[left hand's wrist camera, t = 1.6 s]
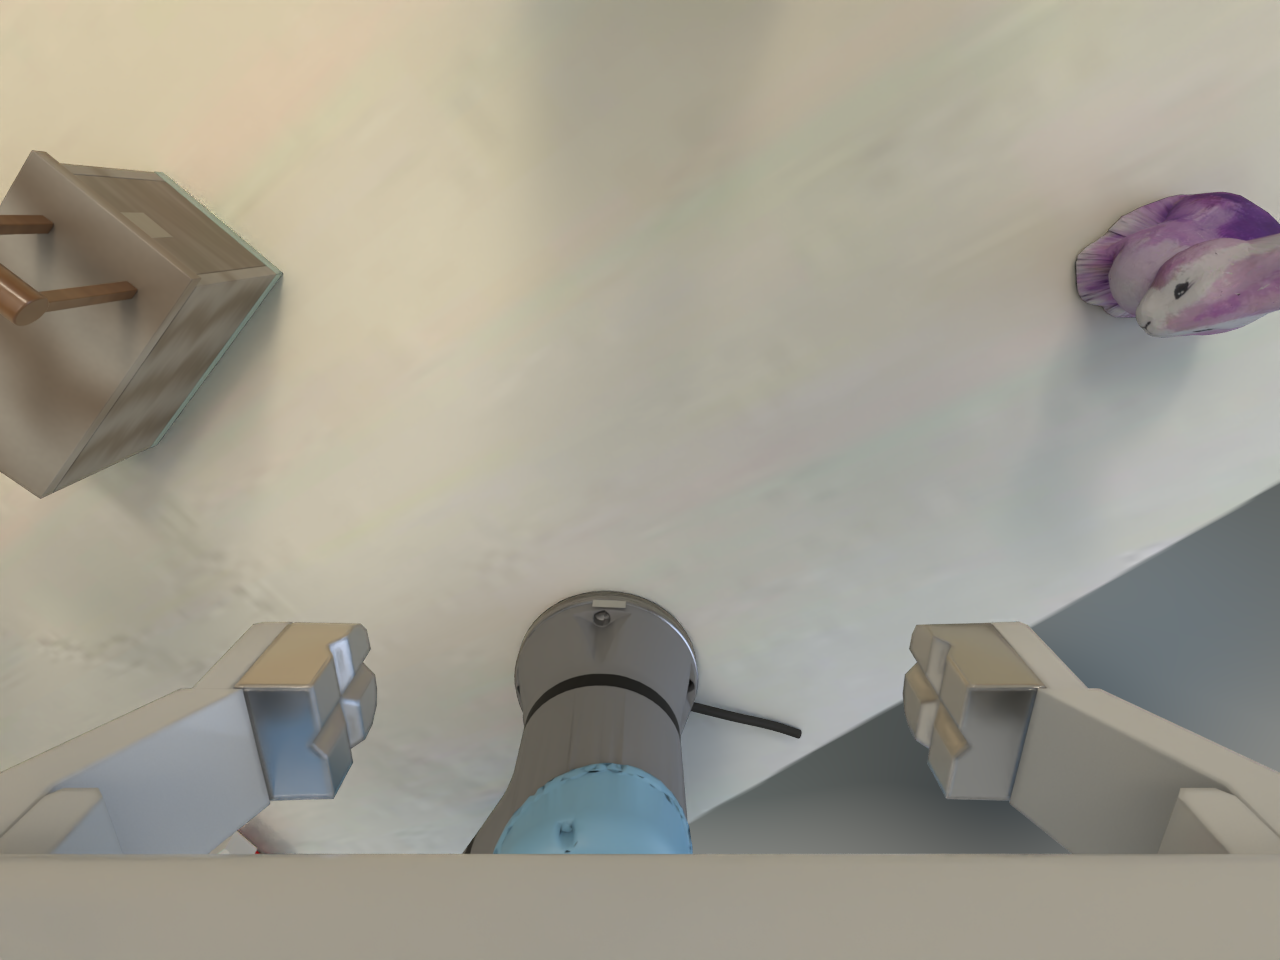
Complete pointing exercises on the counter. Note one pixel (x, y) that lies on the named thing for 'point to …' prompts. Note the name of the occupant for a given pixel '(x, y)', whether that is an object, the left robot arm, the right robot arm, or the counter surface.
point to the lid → (72, 316)
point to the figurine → (1186, 265)
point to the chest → (197, 329)
